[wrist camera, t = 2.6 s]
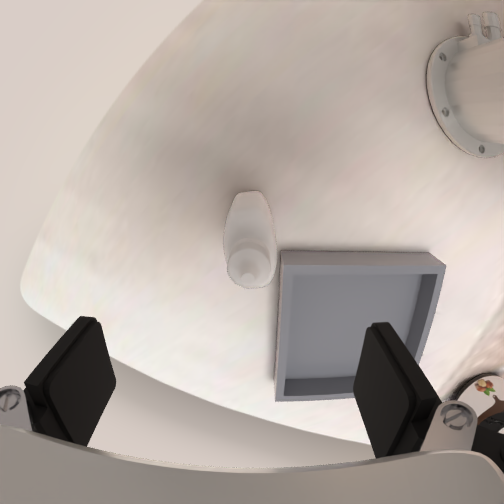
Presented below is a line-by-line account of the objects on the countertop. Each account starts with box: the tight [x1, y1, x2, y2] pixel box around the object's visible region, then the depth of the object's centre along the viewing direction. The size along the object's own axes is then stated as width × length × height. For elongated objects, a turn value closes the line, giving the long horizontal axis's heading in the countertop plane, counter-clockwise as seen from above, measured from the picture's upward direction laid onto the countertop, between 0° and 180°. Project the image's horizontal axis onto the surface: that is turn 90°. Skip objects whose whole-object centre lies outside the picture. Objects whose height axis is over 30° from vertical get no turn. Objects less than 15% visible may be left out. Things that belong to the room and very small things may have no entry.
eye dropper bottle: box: [223, 191, 277, 289], centre depth 22 cm, size 4×6×12 cm
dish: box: [274, 251, 446, 402], centre depth 29 cm, size 15×15×4 cm
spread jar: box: [455, 374, 504, 434], centre depth 30 cm, size 12×11×12 cm
